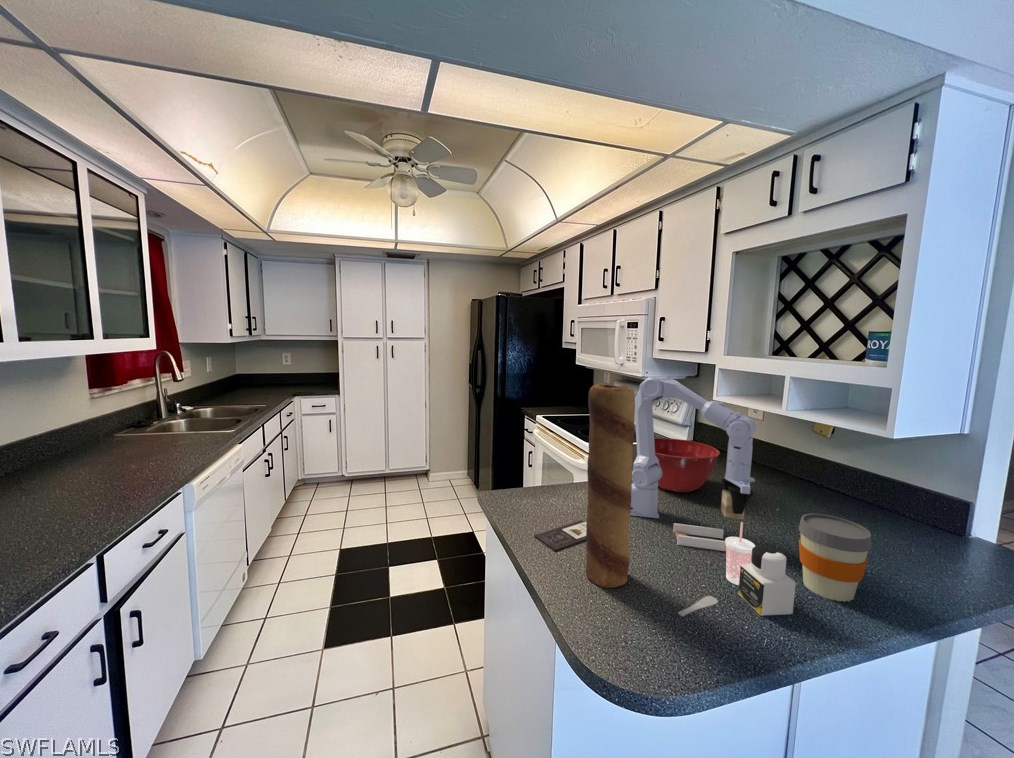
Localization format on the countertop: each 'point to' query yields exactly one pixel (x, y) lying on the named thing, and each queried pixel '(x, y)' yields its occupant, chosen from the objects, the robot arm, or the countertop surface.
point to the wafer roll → (609, 483)
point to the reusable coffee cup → (833, 555)
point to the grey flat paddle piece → (700, 605)
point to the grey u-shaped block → (685, 540)
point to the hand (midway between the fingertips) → (734, 509)
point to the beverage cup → (737, 555)
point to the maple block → (728, 506)
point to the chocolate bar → (564, 536)
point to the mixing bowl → (684, 463)
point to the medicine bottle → (767, 582)
